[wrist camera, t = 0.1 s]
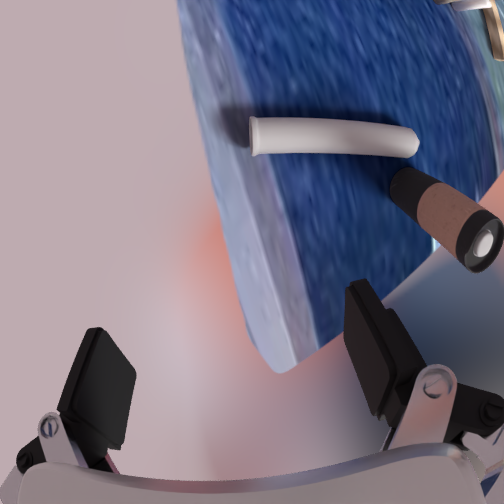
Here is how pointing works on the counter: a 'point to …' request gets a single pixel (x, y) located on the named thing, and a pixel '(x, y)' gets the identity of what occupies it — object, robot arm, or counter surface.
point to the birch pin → (443, 1)
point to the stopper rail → (495, 31)
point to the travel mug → (449, 218)
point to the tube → (329, 137)
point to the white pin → (470, 4)
